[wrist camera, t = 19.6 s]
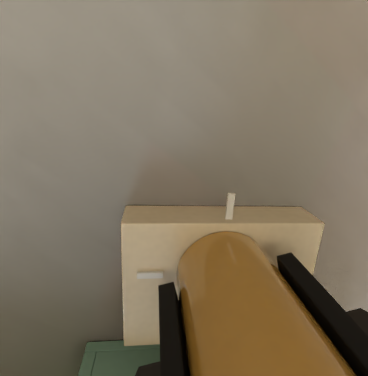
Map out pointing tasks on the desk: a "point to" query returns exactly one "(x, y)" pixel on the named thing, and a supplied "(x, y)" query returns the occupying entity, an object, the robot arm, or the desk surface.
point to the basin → (116, 358)
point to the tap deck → (187, 235)
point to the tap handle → (247, 315)
